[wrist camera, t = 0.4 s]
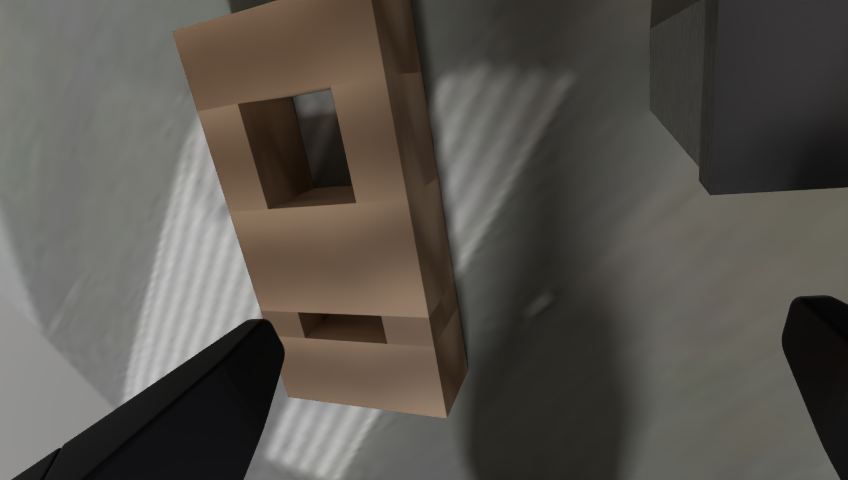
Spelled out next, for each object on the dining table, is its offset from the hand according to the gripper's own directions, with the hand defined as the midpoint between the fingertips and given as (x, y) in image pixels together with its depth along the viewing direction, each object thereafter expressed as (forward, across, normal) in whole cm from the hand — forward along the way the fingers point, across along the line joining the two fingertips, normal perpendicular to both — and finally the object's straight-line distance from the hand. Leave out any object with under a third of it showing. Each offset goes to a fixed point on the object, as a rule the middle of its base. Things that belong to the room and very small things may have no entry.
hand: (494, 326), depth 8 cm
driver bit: (+14, -7, 0) cm, 15 cm away
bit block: (+15, +9, +5) cm, 18 cm away
